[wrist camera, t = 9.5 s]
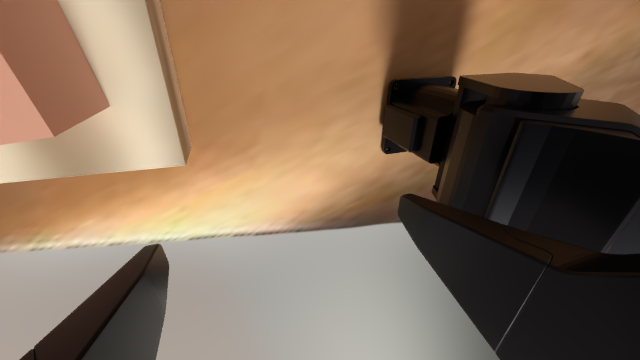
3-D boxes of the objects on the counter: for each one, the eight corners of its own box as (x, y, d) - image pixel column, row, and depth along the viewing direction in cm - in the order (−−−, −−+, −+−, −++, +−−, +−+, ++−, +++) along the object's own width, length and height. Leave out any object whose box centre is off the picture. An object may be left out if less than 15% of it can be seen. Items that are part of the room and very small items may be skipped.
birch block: (150, -50, 14) (125, -80, 10) (192, 143, 19) (185, 165, 16) (-152, -86, 11) (-328, -145, 7) (-1, 157, 16) (-62, 189, 12)
